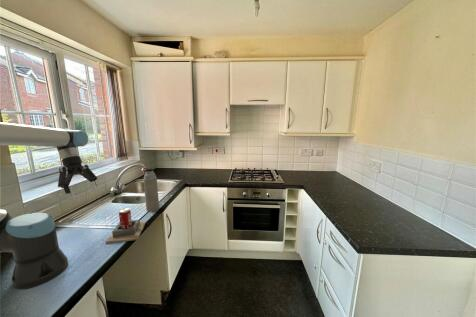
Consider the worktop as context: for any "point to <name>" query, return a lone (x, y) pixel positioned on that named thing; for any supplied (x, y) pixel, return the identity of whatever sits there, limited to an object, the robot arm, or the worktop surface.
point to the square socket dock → (126, 232)
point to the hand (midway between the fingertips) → (84, 195)
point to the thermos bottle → (151, 190)
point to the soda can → (125, 218)
